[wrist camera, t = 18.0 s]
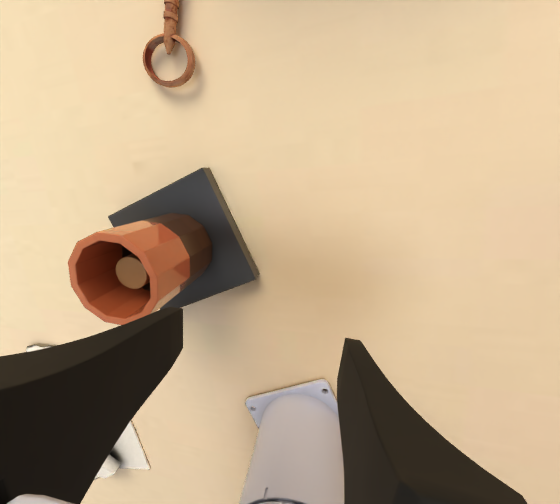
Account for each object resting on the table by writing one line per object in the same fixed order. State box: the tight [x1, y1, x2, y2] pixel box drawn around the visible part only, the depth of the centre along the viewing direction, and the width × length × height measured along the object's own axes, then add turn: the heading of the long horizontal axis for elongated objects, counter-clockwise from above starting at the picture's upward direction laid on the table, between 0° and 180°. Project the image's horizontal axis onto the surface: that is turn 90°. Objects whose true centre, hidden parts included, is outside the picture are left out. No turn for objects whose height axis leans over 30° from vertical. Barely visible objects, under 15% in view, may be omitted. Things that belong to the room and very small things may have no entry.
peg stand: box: [108, 168, 259, 310], centre depth 20 cm, size 9×9×7 cm
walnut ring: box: [122, 213, 212, 292], centre depth 20 cm, size 5×5×4 cm
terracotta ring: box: [68, 221, 190, 325], centre depth 17 cm, size 5×5×4 cm
